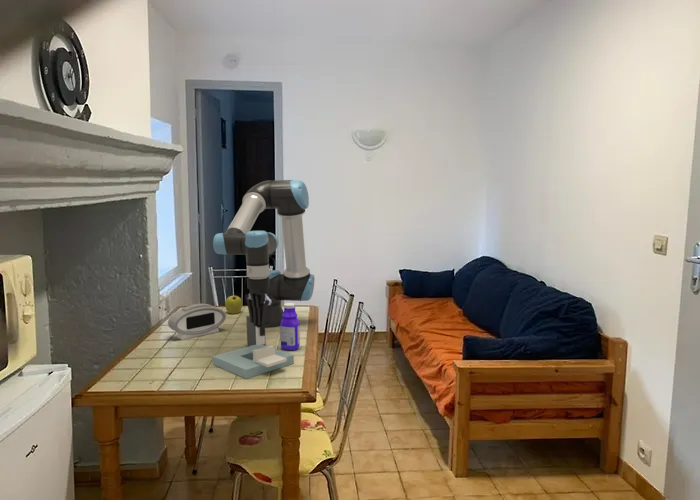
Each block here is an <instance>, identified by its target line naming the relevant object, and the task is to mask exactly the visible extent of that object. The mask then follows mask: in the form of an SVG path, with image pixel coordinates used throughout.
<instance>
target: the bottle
mask: <svg viewBox="0 0 700 500" xmlns="http://www.w3.org/2000/svg"><path fill="white" fill-rule="evenodd" d="M283 308H284V309H283V312H284V313H283V314H282V317H283V319H282V321H281V323H280V325H279V327H280V332H279V333H280V339H279V340H280V348H281V349H282V350H286V351H296V350H298V349H299V347H300V345H301V344H300V341H301V340H300V339H301V338H300V336H301V334H300V331H301V330H300V327H301V326H300V320H299V319H298V314H297V312H296V303H293V302H286V303H284V304H283Z"/></svg>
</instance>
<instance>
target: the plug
mask: <svg viewBox="0 0 700 500" xmlns="http://www.w3.org/2000/svg"><path fill="white" fill-rule="evenodd" d="M245 319H246V341H247V342H246V344H247V346H246V347H248V346H252V345H256V334H255V326H254V323H251V321H250V316H249V315H246V318H245ZM253 319H254V318H253ZM263 345H265V346H267V343H266V339H265V344H263Z"/></svg>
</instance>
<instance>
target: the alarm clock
mask: <svg viewBox="0 0 700 500" xmlns="http://www.w3.org/2000/svg"><path fill="white" fill-rule="evenodd" d="M226 317H227V314H226V312H225V311H224V310H223V309H221V308H218V307H216V306H213V305H212V304H208V303H193V304H191V305H187V306H185V307H183V308H181V309H179V310H177V311H175V312H174V313H173V314H172V315H170V317H169V318H168V320H167V325H168V327H169V328H170V330H173V331H175V332H177V334H176V338H177V339H179V340H182V341H183V340H186V339H187V340H188V339H192V338H197V337H201V336H206V335H210V334H215V333H216V334H217V333H219V332H220V329H219V327H220V326H222V324H223V323H224V322H225V321H226Z"/></svg>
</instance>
